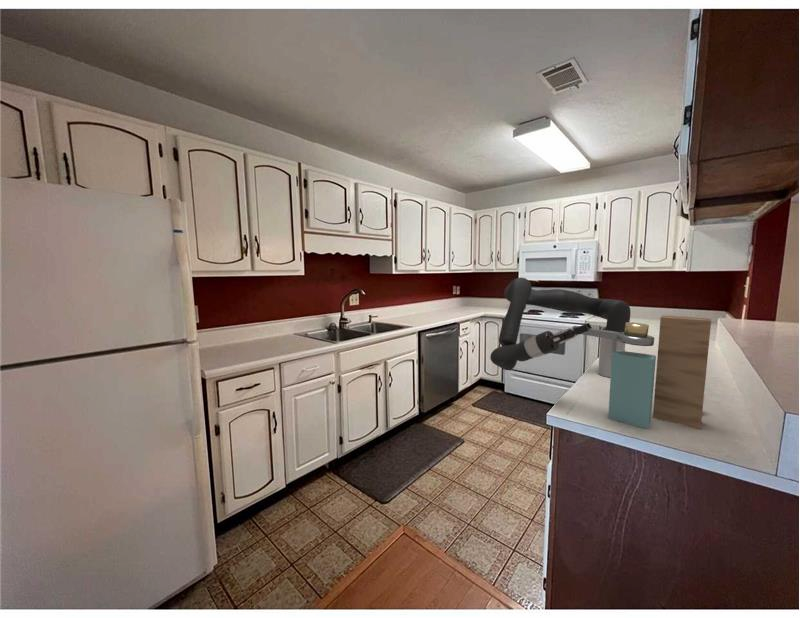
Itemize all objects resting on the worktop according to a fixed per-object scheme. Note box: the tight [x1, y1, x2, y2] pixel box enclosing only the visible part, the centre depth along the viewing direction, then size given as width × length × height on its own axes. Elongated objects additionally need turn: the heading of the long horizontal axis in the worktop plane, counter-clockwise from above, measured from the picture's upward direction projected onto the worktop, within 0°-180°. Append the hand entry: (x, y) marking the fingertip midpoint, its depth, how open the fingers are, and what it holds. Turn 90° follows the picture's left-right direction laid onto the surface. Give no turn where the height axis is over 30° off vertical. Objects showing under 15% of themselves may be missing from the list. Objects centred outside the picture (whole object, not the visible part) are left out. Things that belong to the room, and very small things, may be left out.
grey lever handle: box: [571, 321, 655, 347], centre depth 100 cm, size 9×22×6 cm, turn 45°
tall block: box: [607, 350, 657, 430], centre depth 98 cm, size 6×10×21 cm, turn 45°
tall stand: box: [652, 314, 712, 430], centre depth 97 cm, size 6×11×32 cm, turn 45°
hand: (588, 326), depth 104 cm, fingers closed on grey lever handle, 3 cm apart
